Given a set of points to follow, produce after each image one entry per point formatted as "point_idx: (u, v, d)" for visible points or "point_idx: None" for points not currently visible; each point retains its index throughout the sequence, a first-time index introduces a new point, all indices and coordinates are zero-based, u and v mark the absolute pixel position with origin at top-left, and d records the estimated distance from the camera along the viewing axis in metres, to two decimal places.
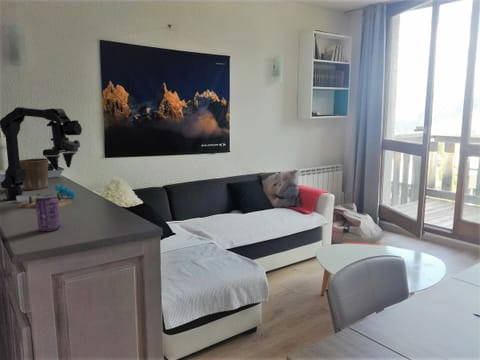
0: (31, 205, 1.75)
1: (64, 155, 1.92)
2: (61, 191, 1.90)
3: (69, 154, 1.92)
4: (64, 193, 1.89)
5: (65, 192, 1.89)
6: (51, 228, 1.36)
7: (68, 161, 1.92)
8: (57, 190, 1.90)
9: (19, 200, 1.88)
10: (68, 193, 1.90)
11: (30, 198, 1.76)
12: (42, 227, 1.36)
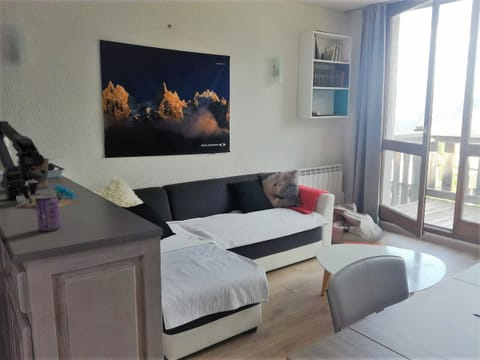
0: (31, 205, 1.75)
1: (29, 185, 1.90)
2: (60, 191, 1.90)
3: (33, 184, 1.89)
4: (63, 193, 1.88)
5: (64, 192, 1.89)
6: (51, 228, 1.36)
7: (33, 191, 1.90)
8: (57, 190, 1.90)
9: (19, 200, 1.88)
10: (67, 193, 1.89)
11: (30, 198, 1.76)
12: (42, 227, 1.36)
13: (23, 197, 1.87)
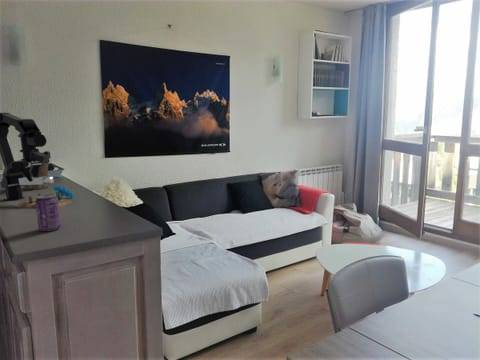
0: (31, 205, 1.75)
1: (31, 167, 1.85)
2: (60, 191, 1.90)
3: (36, 166, 1.85)
4: (63, 193, 1.88)
5: (64, 192, 1.89)
6: (51, 228, 1.36)
7: (35, 173, 1.85)
8: (56, 190, 1.90)
9: (21, 183, 1.83)
10: (67, 193, 1.89)
11: (30, 198, 1.76)
12: (42, 227, 1.36)
13: (26, 179, 1.82)
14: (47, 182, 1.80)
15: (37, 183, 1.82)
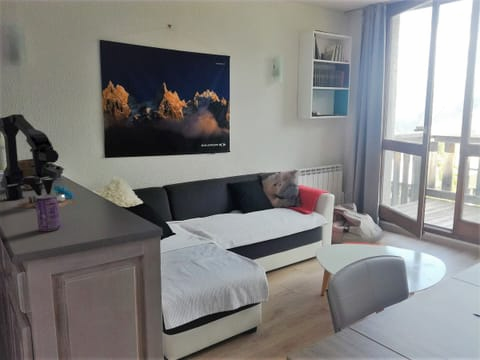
0: (31, 205, 1.75)
1: (44, 182, 1.81)
2: (59, 191, 1.90)
3: (49, 181, 1.81)
4: (62, 193, 1.88)
5: (63, 192, 1.88)
6: (51, 228, 1.36)
7: (48, 188, 1.81)
8: (56, 190, 1.90)
9: (33, 200, 1.78)
10: (66, 193, 1.89)
11: (30, 198, 1.76)
12: (42, 227, 1.36)
13: None
14: (59, 200, 1.76)
15: None
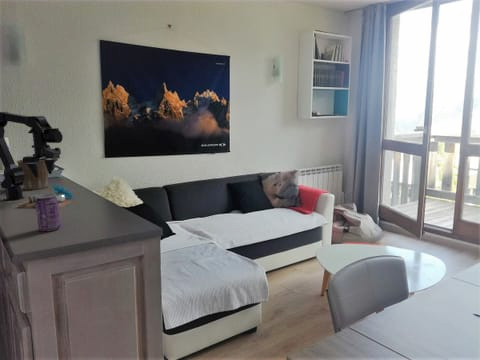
0: (31, 205, 1.75)
1: (46, 162, 1.94)
2: (59, 191, 1.89)
3: (51, 161, 1.94)
4: (61, 193, 1.88)
5: (62, 192, 1.88)
6: (51, 228, 1.36)
7: (49, 168, 1.94)
8: (55, 190, 1.90)
9: (33, 200, 1.78)
10: (65, 193, 1.89)
11: (30, 198, 1.76)
12: (42, 227, 1.36)
13: None
14: (59, 200, 1.76)
15: None
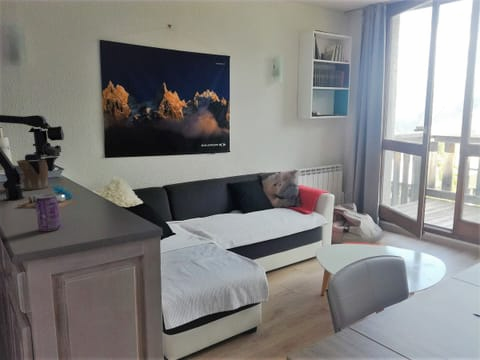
0: (31, 205, 1.75)
1: (46, 159, 2.01)
2: (59, 191, 1.89)
3: (51, 158, 2.01)
4: (61, 193, 1.88)
5: (62, 192, 1.88)
6: (51, 228, 1.36)
7: (50, 165, 2.01)
8: (55, 190, 1.90)
9: (33, 200, 1.78)
10: (65, 194, 1.88)
11: (30, 198, 1.76)
12: (42, 227, 1.36)
13: None
14: (59, 200, 1.76)
15: None
